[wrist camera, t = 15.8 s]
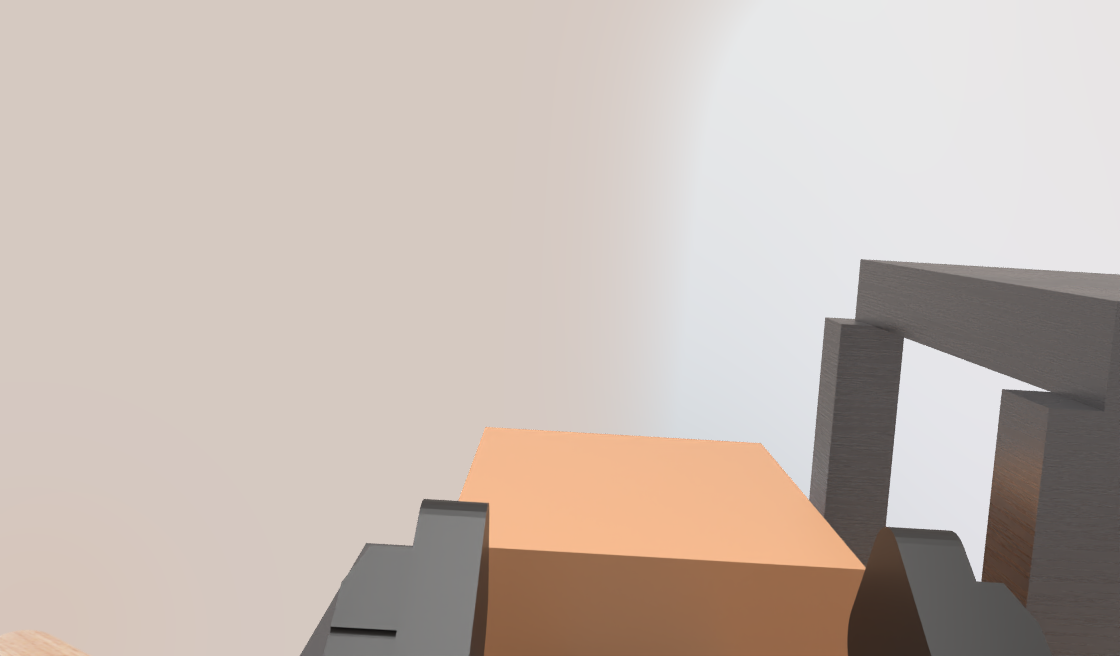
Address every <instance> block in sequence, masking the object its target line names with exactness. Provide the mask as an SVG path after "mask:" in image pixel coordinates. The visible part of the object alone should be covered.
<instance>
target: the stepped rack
mask: <svg viewBox="0 0 1120 656" xmlns="http://www.w3.org/2000/svg"><path fill="white" fill-rule="evenodd" d="M904 338H907V339H910V340H913V341H915V342H918V343H921V344H923V345H926V346H929V347H932V348H934V349H937V350H940V351H942V352H945V353H948V354H950V355H953V356H956V357H958V358H961V359H964V360H966V361H969V362H972V363H975V364H977V365H980V366H983V367H986V368H988V369H991V370H993V371H996V372H999V373H1002V374H1004V375H1007V376H1010V377H1012V378H1015V379H1018V380H1021V381H1023V382H1026V383H1029V384H1031V385H1034V386H1037V387H1039V388H1042V389H1045V390H1047V391H1050V392H1038V391H1022V390H1005V389H1003V390H1002V396H1001V405H1000V415H999V424H998V433H997V442H996V451H995V461H994V471H993V479H992V488H991V489H992V490H991V499H990V507H989V516H988V525H987V534H986V544H985V553H984V562H983V572H982V582H993V583H1004V584H1005V585H1006V587H1007V588H1008V589H1009V590H1010V591H1011V592H1012V593H1013V595H1014V596H1015V597H1016V598H1017V599H1018V600H1019V601H1020V603H1021V604H1022V605H1023V606H1024V607H1025V608H1026V609H1027V611H1028V612H1029V613H1030V614H1031V615H1032V616H1033V617H1034V619H1035V620H1036V621H1037V622H1038V623H1039V625H1040V627H1041V629H1042V632H1043V634H1044V637H1045V639H1046V642H1047V644H1048V646H1049V649H1050V651H1051V654H1052V656H1120V275H1117V274H1098V273H1083V272H1065V271H1049V270H1032V269H1014V268H998V267H979V266H964V265H947V264H931V263H913V262H897V261H880V260H863V259H861V262H860V274H859V285H858V295H857V306H856V317H855V319H841V318H825V328H824V339H823V350H822V362H821V373H820V374H821V375H820V385H819V396H818V407H817V419H816V430H815V442H814V452H813V465H812V475H811V488H810V499H809V501H810V502H811V503H812V504H813V506H814V507H815V508H816V509H817V510H818V512H819V513H820V514H821V515H822V516H823V518H824V519H825V520H826V521H827V522H828V523H829V525H830V526H831V527H832V528H833V529H834V531H835V532H836V533H837V534H838V535H839V537H840V538H841V539H842V540H843V541H844V542H845V544H846V545H847V546H848V547H849V548H850V550H851V551H852V552H853V553H854V554H855V556H856V557H857V558H858V559H859V560H860V561H861V563H862V564H863V565H864V566H865V567H866V566H867V563H868V560H869V557H870V554H871V551H872V548H873V545H874V542H875V539H876V537H877V534H878V533H879V531H880V530H881V529H882V528H884V527H886V516H887V506H888V495H889V486H890V476H891V464H892V455H893V445H894V434H895V424H896V413H897V403H898V392H899V383H900V372H901V362H902V352H903V341H904ZM370 545H374V546H391V547H408V548H413V546H405V545H388V544H371V543H366V545H365V546H364V548H363V550H362V552H361V553H360V555H359V556H358V558H357V560H356V562H355V563H354V565H353V567H354V566H355V565H356V563H357V562H358V561H359V560H360V558H361V557H362V556H363V554H364V553H365V552H366V551H367V549H368V548H369V547H370ZM353 567H352V568H353ZM352 568H351V570H352ZM351 570H350V571H351ZM348 574H349V573H348ZM339 591H340V589H339ZM339 591H338V592H337V594H336V595H335V597H334V599H333V601H332V602H331V604H330V606H329V608H328V609H327V611H326V612H325V614H324V616H323V617H322V619H321V621H320V623H319V625H318V626H317V628H316V629H315V631H314V633H313V635H312V636H311V638H310V640H309V641H308V643H307V645H306V647H305V648H304V650H303V651H302V653H301V655H300V656H323V654H324V650H325V646H326V642H327V638H328V635H330V626H331V622H332V618H333V614H334V610H335V606H336V602H337V599H338V595H339Z"/></svg>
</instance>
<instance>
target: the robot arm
mask: <svg viewBox="0 0 1120 656" xmlns="http://www.w3.org/2000/svg"><path fill="white" fill-rule="evenodd" d="M488 583H489V503H483V502H466V501H447V500H430V499H424V500H423V501H422V504H421V507H420V512H419V517H418V522H417V527H416V533H415V538H414V543H413V548H408V547H391V546H374V545H370V547H369V548H368V549H367V551H366V552H365V553H364V554H363V556H362V557H361V558H360V560H359V561H358V562H357V563H356V565H355V566H354V567H353V568H352V570H351V571H350V572H349V574H348V575H347V576H346V577H345V579H344V580H343V581H342V583H341V587H340V591H339V595H338V599H337V602H336V606H335V610H334V614H333V618H332V622H331V626H330V635H328V638H327V642H326V646H325V650H324V654H323V656H484V649H485V638H486V626H487V611H488ZM847 648H848V656H1052V654H1051V651H1050V649H1049V646H1048V644H1047V642H1046V639H1045V637H1044V634H1043V632H1042V629H1041V627H1040V625H1039V623H1038V622H1037V621H1036V620H1035V619H1034V617H1033V616H1032V615H1031V614H1030V613H1029V612H1028V611H1027V609H1026V608H1025V607H1024V606H1023V605H1022V604H1021V603H1020V601H1019V600H1018V599H1017V598H1016V597H1015V596H1014V595H1013V593H1012V592H1011V591H1010V590H1009V589H1008V588H1007V587H1006V585H1005V584H1004V583H993V582H976V579H975V577H974V574H973V571H972V568H971V566H970V563H969V560H968V558H967V555H966V552H965V549H964V547H963V544H962V542H961V540H960V538H959V537H958V536H957V534H956V533H954V532H953V531H946V530H927V529H911V528H894V527H884V528H882V529H881V530H880V531H879V533H878V534H877V537H876V539H875V542H874V545H873V548H872V551H871V554H870V557H869V560H868V563H867V566H866V569H865V572H864V575H863V578H862V580H861V583H860V586H859V589H858V592H857V595H856V598H855V601H854V604H853V607H852V610H851V614H850V618H849V624H848V635H847Z"/></svg>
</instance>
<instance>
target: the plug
mask: <svg viewBox="0 0 1120 656" xmlns="http://www.w3.org/2000/svg"><path fill="white" fill-rule="evenodd" d="M459 501H466V502H483V503H489V583H488V611H487V626H486V638H485V649H484V656H848V648H847V635H848V624H849V618H850V614H851V610H852V607H853V604H854V601H855V598H856V595H857V592H858V589H859V586H860V583H861V580H862V578H863V575H864V572H865V569H866V567H865V566H864V565H863V564H862V563H861V561H860V560H859V559H858V558H857V557H856V556H855V554H854V553H853V552H852V551H851V550H850V548H849V547H848V546H847V545H846V544H845V542H844V541H843V540H842V539H841V538H840V537H839V535H838V534H837V533H836V532H835V531H834V529H833V528H832V527H831V526H830V525H829V523H828V522H827V521H826V520H825V519H824V518H823V516H822V515H821V514H820V513H819V512H818V510H817V509H816V508H815V507H814V506H813V504H812V503H811V502H810V501H809V500H808V499H807V497H806V496H805V495H804V494H803V493H802V491H801V490H800V489H799V488H798V487H797V485H796V484H795V483H794V482H793V481H792V480H791V478H790V477H789V476H788V475H787V474H786V472H785V471H784V470H783V469H782V468H781V467H780V465H779V464H778V463H777V462H776V461H775V459H774V458H773V457H772V456H771V455H770V453H769V452H768V451H767V450H766V449H765V447H764V446H763V445H762V444H761V443H746V442H729V441H713V440H695V439H679V438H660V437H644V436H628V435H611V434H594V433H576V432H560V431H543V430H527V429H509V428H493V427H486V428H485V430H484V433H483V436H482V438H481V441H480V444H479V446H478V449H477V452H476V454H475V457H474V460H473V463H472V465H471V468H470V471H469V474H468V476H467V479H466V482H465V484H464V487H463V490H462V492H461V495H460V498H459Z"/></svg>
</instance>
